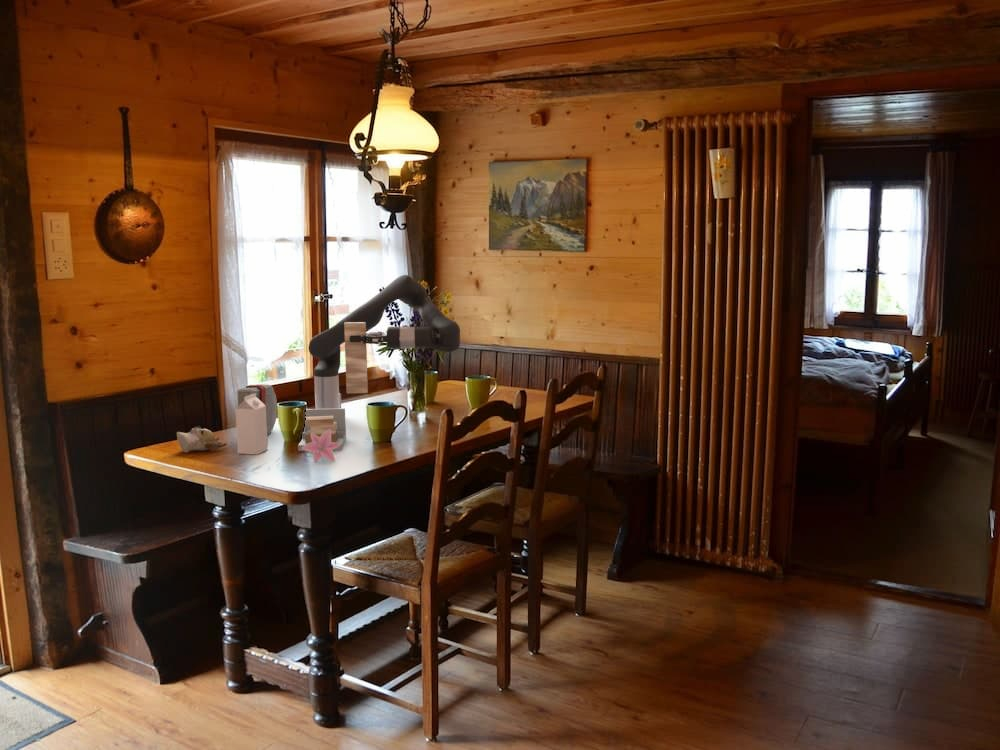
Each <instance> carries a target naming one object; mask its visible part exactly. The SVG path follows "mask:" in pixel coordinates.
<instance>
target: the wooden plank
mask: <svg viewBox="0 0 1000 750" xmlns="http://www.w3.org/2000/svg"><path fill="white" fill-rule="evenodd" d="M344 332H345V342H344V352H345V353H344V354H345V356H344V357H345V386H346V388H345V389H346V390H345V391H346V394H368V391H369V390H368V389H369V386H368V385H369V384H368V356H367V354H368V353H367V352H368V351H367V350H368V349H367V343H365V344H364V343H361V342H350V336H356V335H366V333H367V332H366V322H345V323H344Z"/></svg>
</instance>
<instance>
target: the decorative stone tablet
mask: <svg viewBox="0 0 1000 750" xmlns="http://www.w3.org/2000/svg"><path fill="white" fill-rule="evenodd" d="M236 393H237V395H236V396H237V407H238V406H239V405H240V404H241V403H242V402H243V401H244V397H246V396H249V395H252V394H255V393H256V397H257V398H258V399H259V400H260V401H261V402H262V403H263V404H264V405H265V406H266V422H267V436H268V435H270V433H271V432H272V431H273V430H274V427H275V424H276V421H277V415H278V412H277V411H278V404H277V395H276V393H275V390H274V388H273V386H272V385H270V384H249V385H246V386H245V387H243V388H239V389H237V391H236Z"/></svg>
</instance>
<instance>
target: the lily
mask: <svg viewBox="0 0 1000 750" xmlns="http://www.w3.org/2000/svg"><path fill="white" fill-rule="evenodd" d="M310 435H311V439H312V442H310V443H308V444H306V445H305V446H303V447H302V449H303V450H306V451H305V452H310V453H313V463H315V464H316V463H317V462H319V461H320V460H321V459H322V458H325V459H327V460H329V461H330V462H335V461H336V458H335V453H334V450H333V449H335V448H337V447H339V446H340V444H338V443H334V442H331V430H330V429H328V430H327V431H325V432H324V433H323V434H322V435H321V436H320V437H319V436H317V435H315V434H313V433H310Z"/></svg>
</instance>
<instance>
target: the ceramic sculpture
mask: <svg viewBox="0 0 1000 750" xmlns="http://www.w3.org/2000/svg"><path fill="white" fill-rule="evenodd" d="M176 439H177V443H178V445H179V446H180V449H181V451H182V452H183V453H186V454H187V453H189V452H191V451H193V450H195V451H200V452H201V451H202V452H203V451H207V450H217V449H220V448H223V447H226V446H227V442H226V443H223V442H221V441H219V440H220V438H219V437H216V438H215V435H214V433H213V432H212V431H211V430H209V429H208V428H201V426H200V425H196V426H194V427H193V428H191V430H190V431H189V432H181V431H177V432H176Z"/></svg>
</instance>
